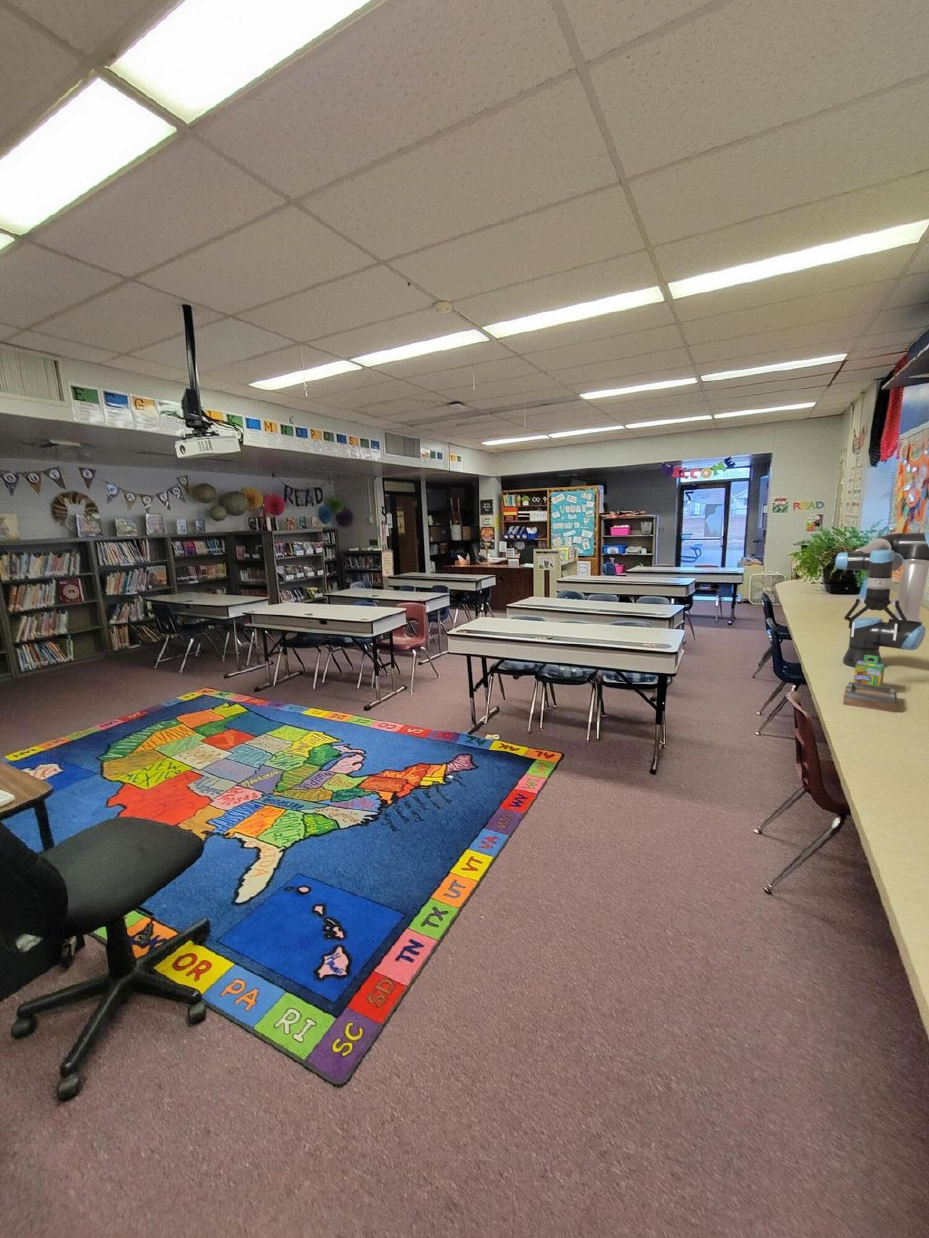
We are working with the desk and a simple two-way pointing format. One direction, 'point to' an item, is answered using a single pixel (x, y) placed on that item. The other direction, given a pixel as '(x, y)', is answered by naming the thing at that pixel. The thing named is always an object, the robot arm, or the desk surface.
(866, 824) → the desk surface
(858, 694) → the square frame
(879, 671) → the chalk box
